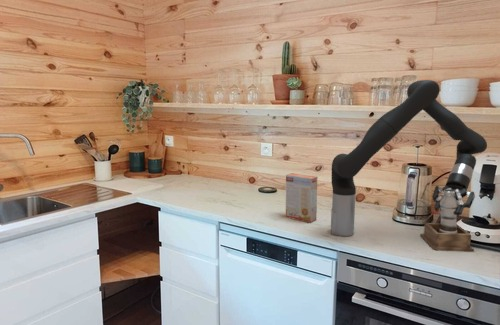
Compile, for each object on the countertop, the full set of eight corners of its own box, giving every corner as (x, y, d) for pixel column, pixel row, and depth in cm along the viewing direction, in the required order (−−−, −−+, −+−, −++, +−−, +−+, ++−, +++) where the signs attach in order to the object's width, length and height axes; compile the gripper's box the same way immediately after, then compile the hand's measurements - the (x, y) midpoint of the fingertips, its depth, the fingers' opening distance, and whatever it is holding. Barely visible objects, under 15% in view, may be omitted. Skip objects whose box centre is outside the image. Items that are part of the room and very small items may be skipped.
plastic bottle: (451, 237, 141) (452, 188, 138) (461, 243, 135) (462, 191, 132) (435, 238, 141) (435, 189, 138) (444, 244, 135) (445, 192, 132)
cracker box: (317, 220, 167) (318, 176, 163) (310, 223, 162) (311, 178, 159) (292, 214, 176) (292, 172, 172) (285, 217, 172) (285, 174, 168)
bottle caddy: (433, 250, 132) (434, 234, 131) (420, 236, 146) (421, 222, 145) (473, 251, 131) (475, 236, 130) (456, 237, 144) (457, 223, 143)
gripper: (438, 169, 144) (424, 203, 138) (479, 174, 134) (466, 211, 128) (442, 180, 149) (429, 213, 143) (481, 186, 138) (469, 222, 132)
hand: (446, 212), depth 135 cm, fingers open, 6 cm apart
